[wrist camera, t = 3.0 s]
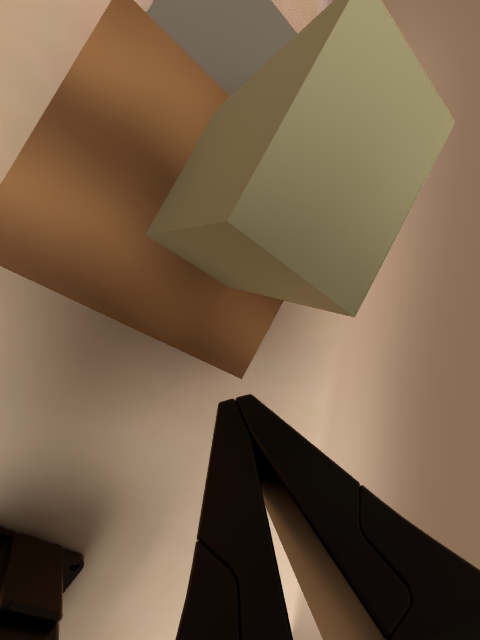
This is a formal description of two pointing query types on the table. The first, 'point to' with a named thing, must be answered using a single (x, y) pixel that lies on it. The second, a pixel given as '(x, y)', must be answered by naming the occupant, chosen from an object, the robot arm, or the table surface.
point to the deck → (125, 194)
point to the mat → (225, 35)
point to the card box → (311, 164)
